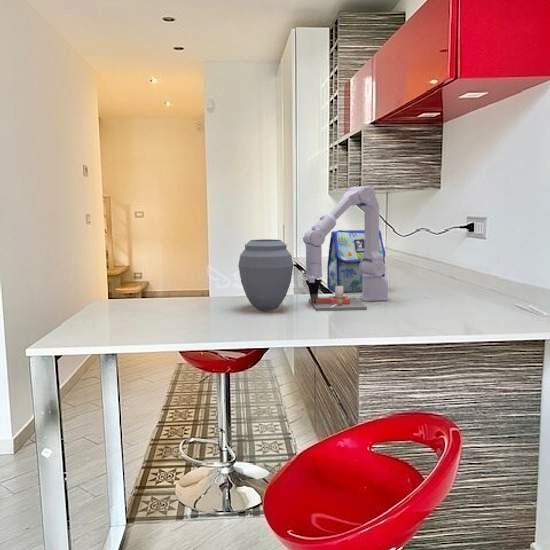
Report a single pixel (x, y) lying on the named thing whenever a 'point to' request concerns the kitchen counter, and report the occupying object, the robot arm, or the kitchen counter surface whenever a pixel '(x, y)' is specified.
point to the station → (333, 307)
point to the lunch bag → (347, 259)
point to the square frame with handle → (328, 299)
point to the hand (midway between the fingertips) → (313, 299)
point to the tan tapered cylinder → (339, 302)
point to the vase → (265, 272)
